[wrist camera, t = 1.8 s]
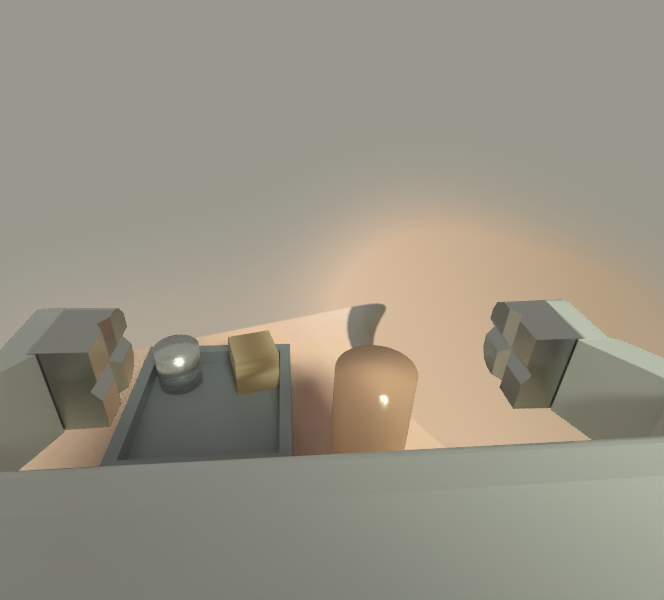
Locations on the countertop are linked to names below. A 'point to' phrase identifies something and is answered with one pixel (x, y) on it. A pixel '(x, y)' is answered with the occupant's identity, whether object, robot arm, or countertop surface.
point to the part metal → (178, 364)
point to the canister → (372, 400)
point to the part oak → (254, 362)
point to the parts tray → (203, 417)
